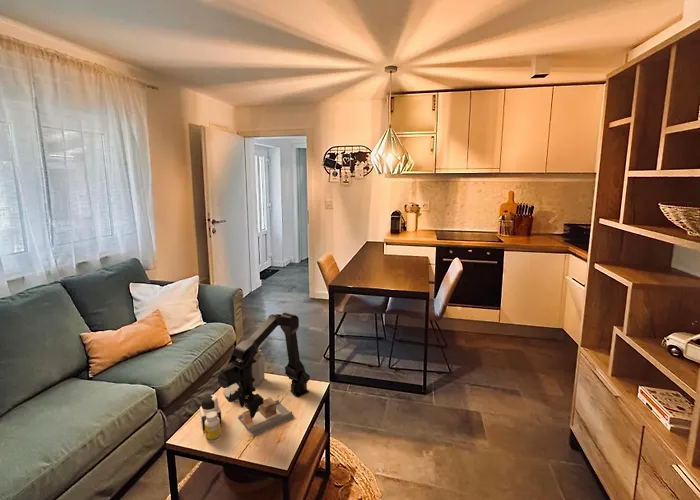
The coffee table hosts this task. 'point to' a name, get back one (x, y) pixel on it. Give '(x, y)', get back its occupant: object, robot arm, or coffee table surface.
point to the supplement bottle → (212, 427)
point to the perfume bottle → (258, 369)
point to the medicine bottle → (209, 409)
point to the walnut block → (268, 407)
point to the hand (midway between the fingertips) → (247, 412)
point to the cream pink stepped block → (256, 418)
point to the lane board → (271, 423)
